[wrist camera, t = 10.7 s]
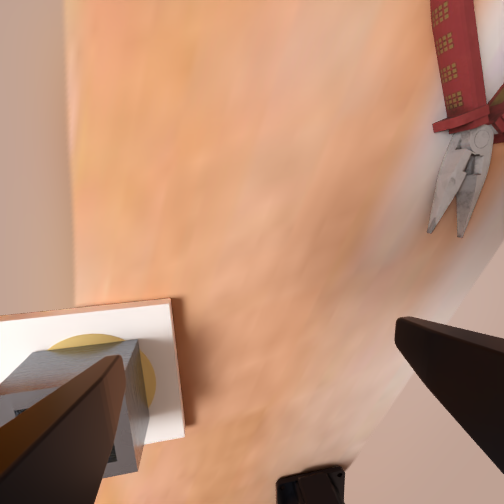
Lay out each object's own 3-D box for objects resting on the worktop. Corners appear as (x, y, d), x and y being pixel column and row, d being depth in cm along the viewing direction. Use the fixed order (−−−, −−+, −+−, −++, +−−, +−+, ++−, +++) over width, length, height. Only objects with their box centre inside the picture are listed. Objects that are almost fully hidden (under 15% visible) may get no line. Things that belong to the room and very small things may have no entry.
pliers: (370, 225, 22) (393, 230, 19) (438, -85, 18) (477, -129, 15) (487, 240, 24) (520, 246, 22) (570, -31, 20) (622, -62, 18)
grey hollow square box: (149, 417, 20) (137, 471, 16) (53, 434, 19) (16, 495, 15) (137, 338, 19) (121, 377, 15) (32, 352, 18) (-14, 397, 14)
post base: (185, 426, 22) (180, 500, 17) (32, 453, 21) (-26, 545, 15) (170, 298, 20) (159, 338, 14) (-6, 316, 18) (-91, 369, 13)
